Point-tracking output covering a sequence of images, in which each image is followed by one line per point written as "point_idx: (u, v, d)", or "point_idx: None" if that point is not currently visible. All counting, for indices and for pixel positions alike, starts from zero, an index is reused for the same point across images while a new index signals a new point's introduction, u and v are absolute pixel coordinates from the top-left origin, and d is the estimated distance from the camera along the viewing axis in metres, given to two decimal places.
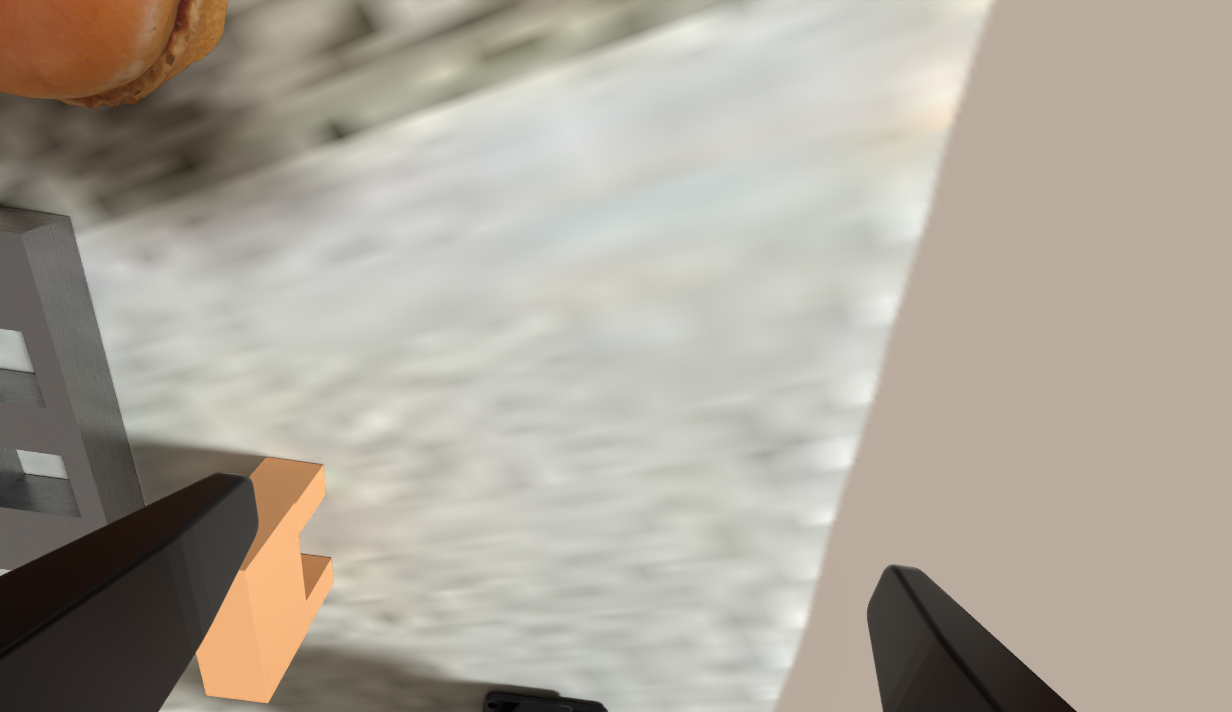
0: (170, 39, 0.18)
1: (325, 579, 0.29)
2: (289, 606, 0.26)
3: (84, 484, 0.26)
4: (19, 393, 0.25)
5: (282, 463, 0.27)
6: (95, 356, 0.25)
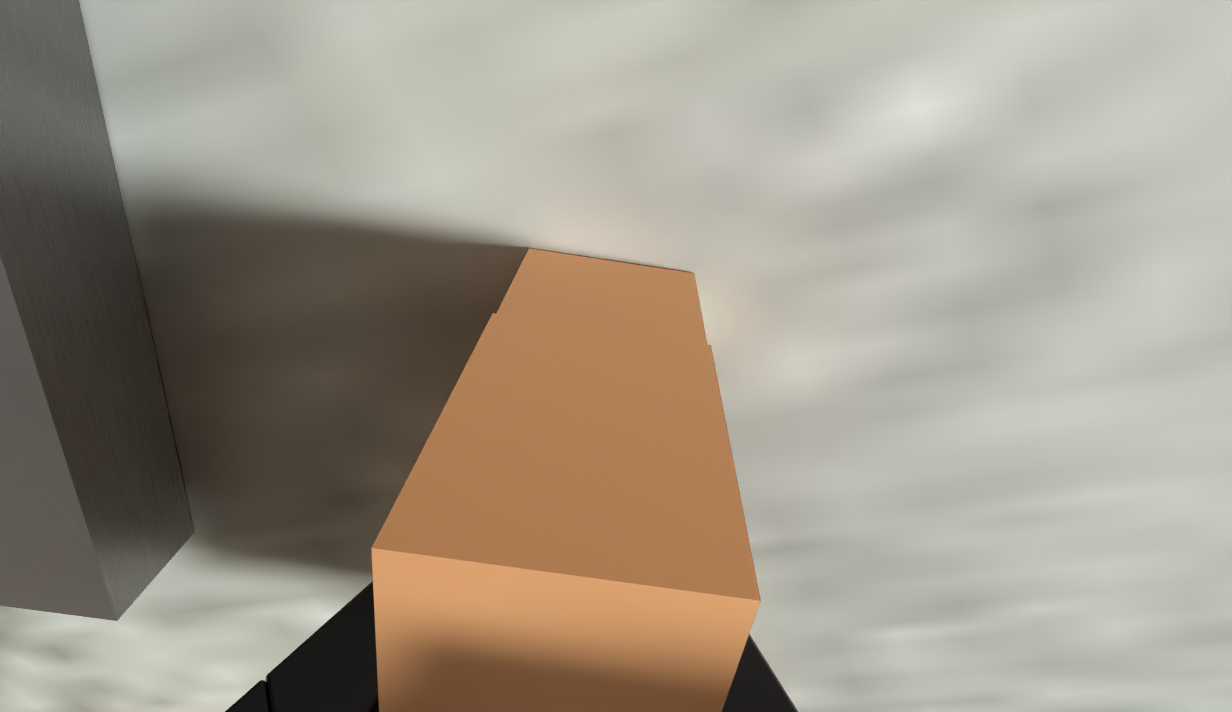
0: None
1: None
2: None
3: None
4: None
5: (581, 262, 0.09)
6: None
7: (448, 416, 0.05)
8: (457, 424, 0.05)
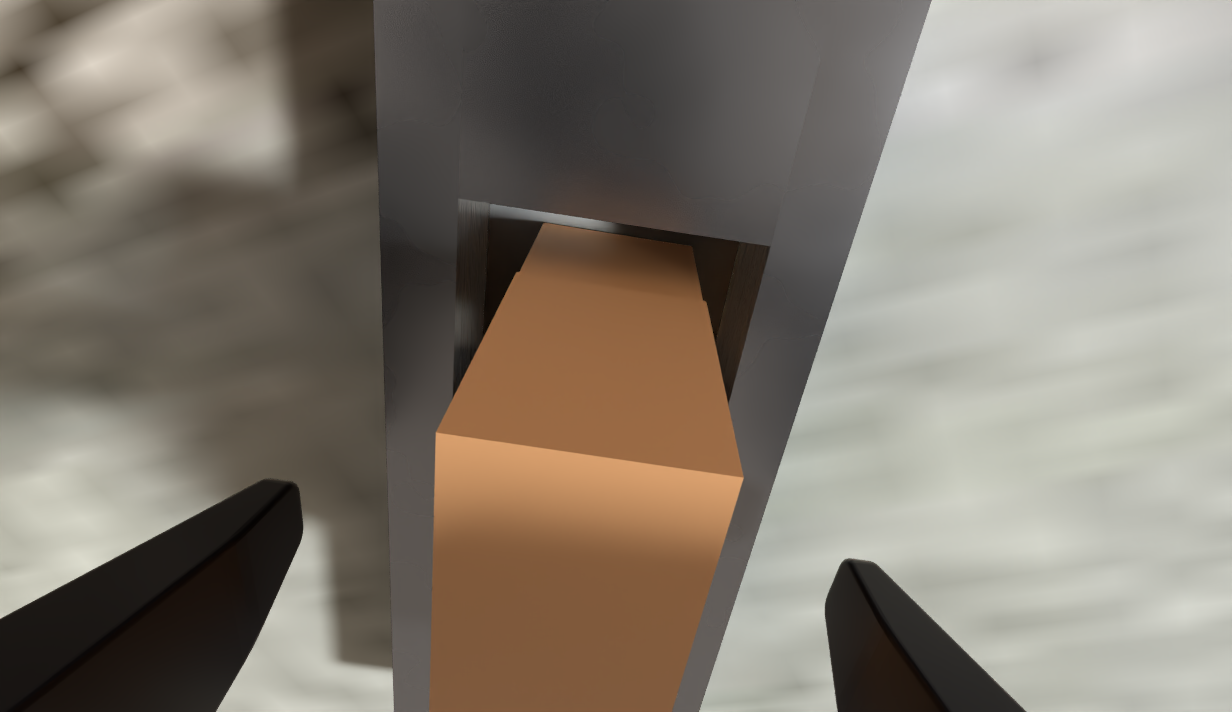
0: None
1: None
2: None
3: (705, 614, 0.11)
4: None
5: (591, 234, 0.10)
6: None
7: (487, 346, 0.06)
8: (494, 352, 0.06)
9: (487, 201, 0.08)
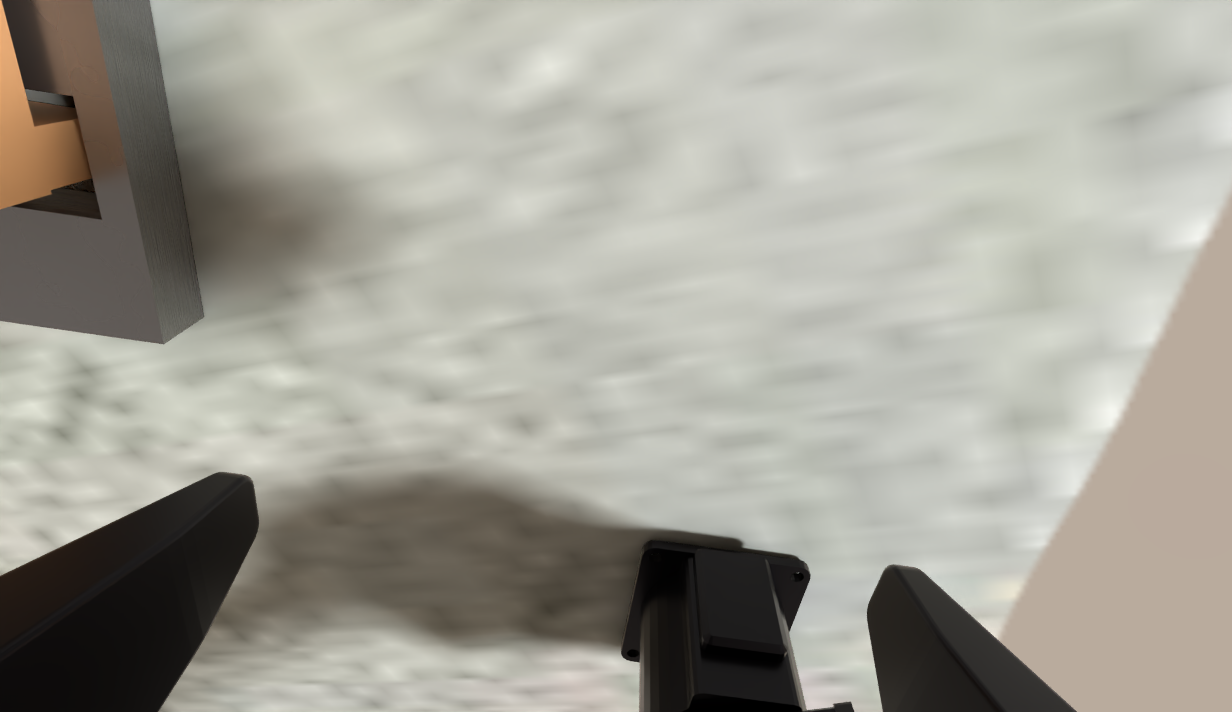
0: None
1: None
2: None
3: (107, 153, 0.17)
4: None
5: None
6: None
7: None
8: None
9: None
